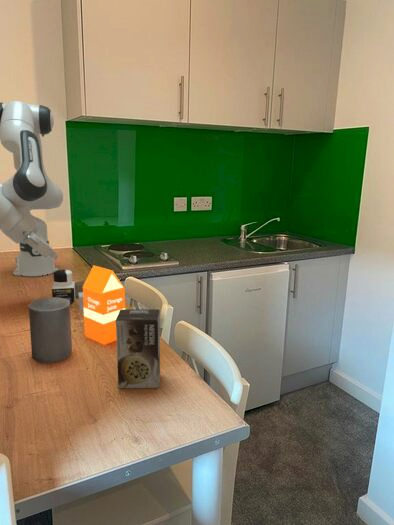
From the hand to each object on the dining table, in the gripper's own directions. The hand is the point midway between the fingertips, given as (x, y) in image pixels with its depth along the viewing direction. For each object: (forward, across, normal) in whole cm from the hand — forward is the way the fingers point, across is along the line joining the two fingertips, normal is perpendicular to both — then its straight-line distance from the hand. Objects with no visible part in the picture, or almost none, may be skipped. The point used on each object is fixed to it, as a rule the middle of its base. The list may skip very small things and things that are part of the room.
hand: (56, 257), depth 131 cm
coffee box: (+17, -59, +7) cm, 62 cm away
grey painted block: (+18, -7, +6) cm, 20 cm away
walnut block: (+18, +7, +6) cm, 20 cm away
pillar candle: (+6, -37, +18) cm, 41 cm away
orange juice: (+17, -32, +7) cm, 37 cm away
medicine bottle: (+13, 0, +11) cm, 17 cm away
